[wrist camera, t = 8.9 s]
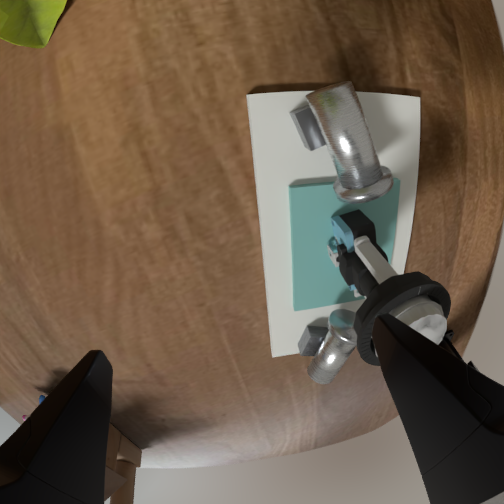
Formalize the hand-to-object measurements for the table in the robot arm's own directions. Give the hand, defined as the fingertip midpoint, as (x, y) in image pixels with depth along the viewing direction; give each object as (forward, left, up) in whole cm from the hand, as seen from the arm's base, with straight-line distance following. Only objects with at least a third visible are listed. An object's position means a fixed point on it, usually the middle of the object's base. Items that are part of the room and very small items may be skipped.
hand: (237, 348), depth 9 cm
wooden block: (+23, +34, -13) cm, 43 cm away
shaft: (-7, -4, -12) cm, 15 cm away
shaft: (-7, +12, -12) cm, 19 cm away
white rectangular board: (-8, +4, -12) cm, 15 cm away
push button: (-8, +4, -11) cm, 14 cm away
